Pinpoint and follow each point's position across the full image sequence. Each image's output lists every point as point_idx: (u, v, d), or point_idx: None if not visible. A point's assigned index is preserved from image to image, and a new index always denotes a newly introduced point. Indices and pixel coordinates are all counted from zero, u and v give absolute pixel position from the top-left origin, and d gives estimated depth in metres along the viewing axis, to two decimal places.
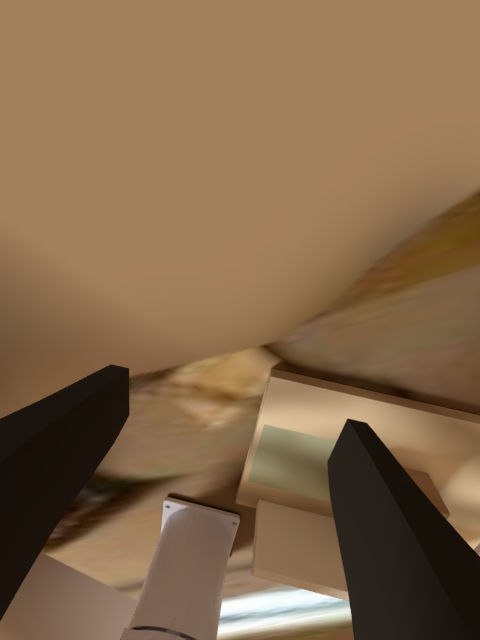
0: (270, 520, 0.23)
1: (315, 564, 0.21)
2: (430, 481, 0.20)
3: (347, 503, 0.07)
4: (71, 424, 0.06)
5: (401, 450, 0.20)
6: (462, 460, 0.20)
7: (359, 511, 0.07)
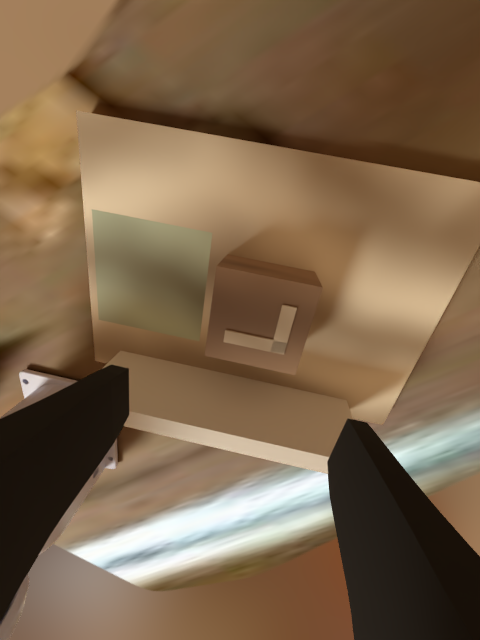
0: (124, 365, 0.17)
1: (164, 402, 0.15)
2: (313, 274, 0.14)
3: (347, 503, 0.07)
4: (71, 424, 0.06)
5: (273, 232, 0.14)
6: (354, 240, 0.14)
7: (359, 511, 0.07)
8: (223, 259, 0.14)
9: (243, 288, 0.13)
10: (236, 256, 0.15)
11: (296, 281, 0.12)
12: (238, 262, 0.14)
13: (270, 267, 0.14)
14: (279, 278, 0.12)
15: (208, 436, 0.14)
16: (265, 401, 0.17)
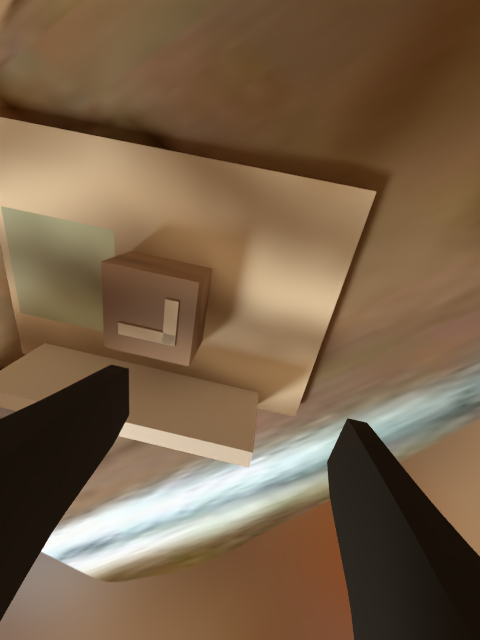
0: (42, 357, 0.18)
1: None
2: (206, 270, 0.15)
3: (347, 503, 0.07)
4: (71, 424, 0.06)
5: (169, 230, 0.15)
6: (244, 239, 0.15)
7: (359, 511, 0.07)
8: (118, 255, 0.15)
9: (128, 282, 0.13)
10: (138, 253, 0.16)
11: (175, 276, 0.13)
12: (132, 258, 0.15)
13: (164, 263, 0.15)
14: (159, 273, 0.13)
15: None
16: (174, 392, 0.17)
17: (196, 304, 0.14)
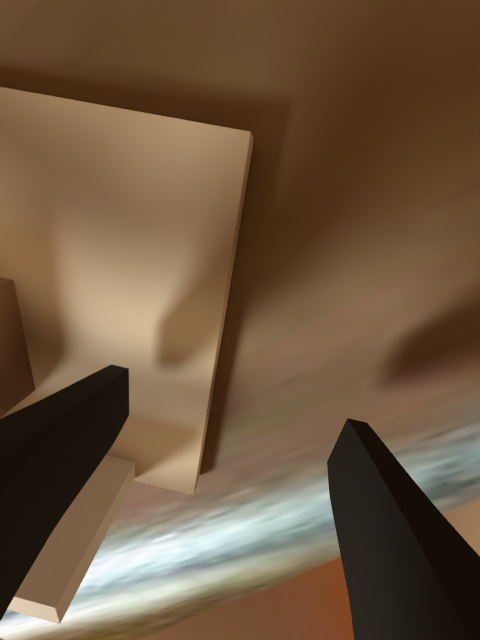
0: None
1: None
2: None
3: (347, 503, 0.07)
4: (71, 424, 0.06)
5: None
6: (46, 229, 0.09)
7: (359, 511, 0.07)
8: None
9: None
10: None
11: None
12: None
13: None
14: None
15: None
16: None
17: None
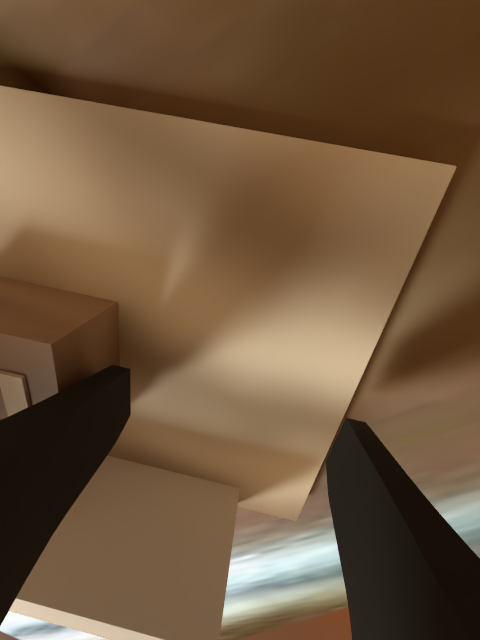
0: None
1: None
2: (100, 308, 0.09)
3: (345, 503, 0.07)
4: (73, 424, 0.06)
5: (71, 246, 0.09)
6: (201, 260, 0.08)
7: (357, 510, 0.07)
8: None
9: None
10: None
11: (7, 332, 0.07)
12: None
13: (20, 298, 0.08)
14: None
15: None
16: (101, 501, 0.11)
17: (58, 381, 0.07)
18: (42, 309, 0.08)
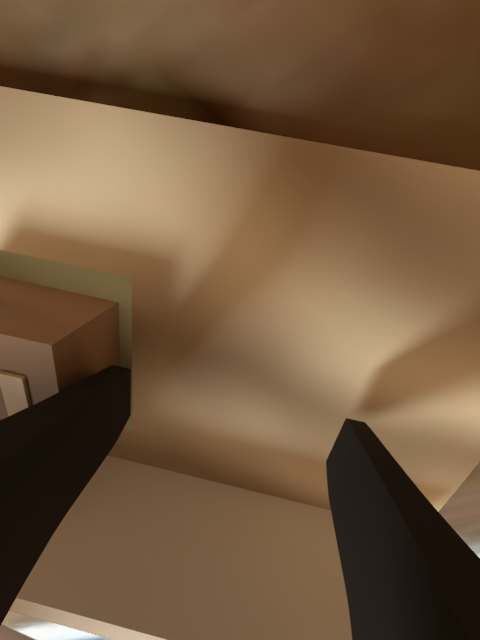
0: None
1: (56, 554, 0.09)
2: (100, 308, 0.09)
3: (345, 503, 0.07)
4: (73, 424, 0.06)
5: (232, 279, 0.08)
6: (374, 295, 0.08)
7: (357, 511, 0.07)
8: None
9: None
10: None
11: (7, 332, 0.07)
12: None
13: (21, 298, 0.08)
14: None
15: (119, 632, 0.08)
16: (228, 533, 0.11)
17: (58, 382, 0.07)
18: (42, 309, 0.08)
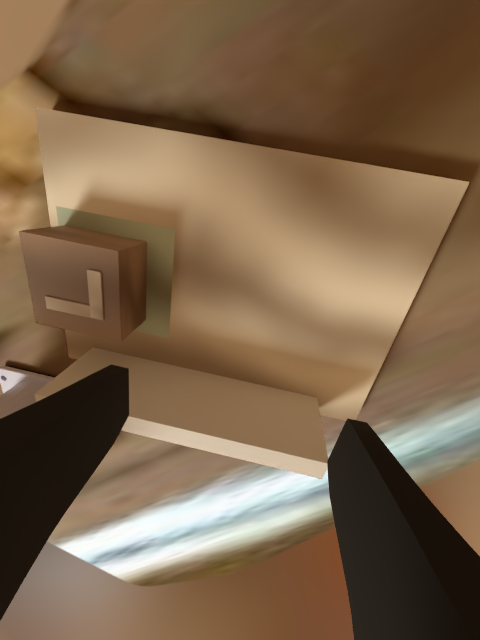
0: (94, 362, 0.18)
1: (129, 398, 0.15)
2: (137, 242, 0.15)
3: (347, 503, 0.07)
4: (71, 424, 0.06)
5: (235, 229, 0.14)
6: (316, 236, 0.14)
7: (359, 511, 0.07)
8: None
9: (49, 253, 0.13)
10: (71, 227, 0.15)
11: (94, 245, 0.13)
12: (59, 230, 0.14)
13: (92, 235, 0.14)
14: (78, 242, 0.13)
15: (170, 432, 0.14)
16: (232, 398, 0.17)
17: (119, 275, 0.13)
18: (106, 240, 0.14)
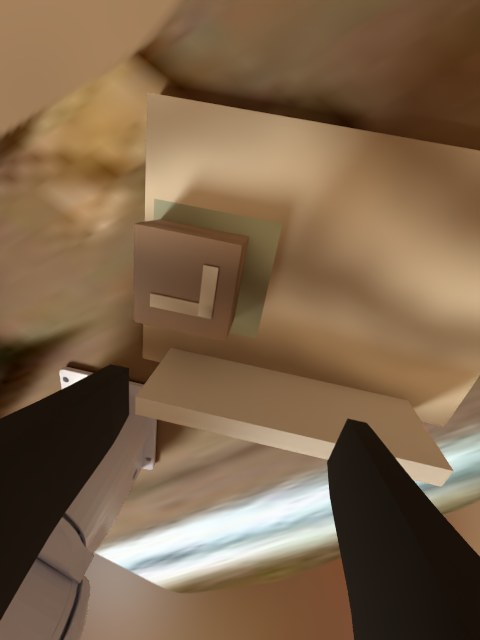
0: (179, 363, 0.17)
1: (229, 402, 0.14)
2: (244, 237, 0.14)
3: (347, 503, 0.07)
4: (71, 424, 0.06)
5: (348, 223, 0.14)
6: (437, 231, 0.13)
7: (359, 511, 0.07)
8: (150, 221, 0.13)
9: (163, 247, 0.12)
10: (169, 221, 0.15)
11: (215, 239, 0.12)
12: (164, 224, 0.13)
13: (198, 229, 0.14)
14: (198, 236, 0.12)
15: (280, 437, 0.13)
16: (329, 401, 0.16)
17: (237, 271, 0.12)
18: (216, 234, 0.13)
